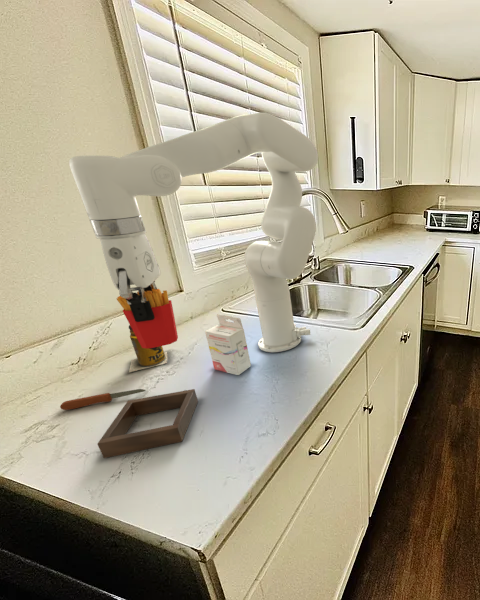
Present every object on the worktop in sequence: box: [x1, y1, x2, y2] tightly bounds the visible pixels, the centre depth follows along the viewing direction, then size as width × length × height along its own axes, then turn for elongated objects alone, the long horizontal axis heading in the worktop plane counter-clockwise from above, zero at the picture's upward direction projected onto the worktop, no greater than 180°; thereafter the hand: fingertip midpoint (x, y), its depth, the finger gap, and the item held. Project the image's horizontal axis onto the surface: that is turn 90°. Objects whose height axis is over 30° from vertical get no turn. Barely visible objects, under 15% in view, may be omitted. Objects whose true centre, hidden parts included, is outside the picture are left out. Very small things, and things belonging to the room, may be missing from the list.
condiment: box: [128, 324, 168, 373], centre depth 89 cm, size 7×8×12 cm
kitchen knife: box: [59, 388, 147, 411], centre depth 75 cm, size 16×1×2 cm, turn 111°
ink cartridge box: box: [204, 313, 252, 376], centre depth 85 cm, size 9×5×15 cm, turn 71°
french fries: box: [116, 288, 179, 349], centre depth 68 cm, size 8×4×12 cm, turn 116°
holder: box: [97, 388, 199, 459], centre depth 67 cm, size 13×13×4 cm
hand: (149, 314), depth 68 cm, fingers closed on french fries, 4 cm apart
